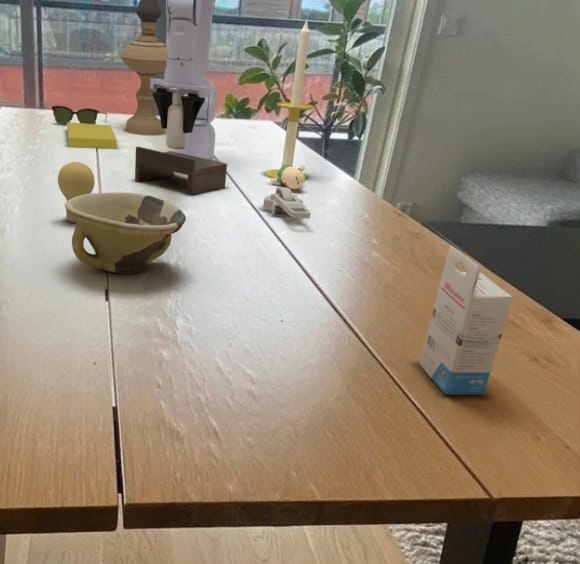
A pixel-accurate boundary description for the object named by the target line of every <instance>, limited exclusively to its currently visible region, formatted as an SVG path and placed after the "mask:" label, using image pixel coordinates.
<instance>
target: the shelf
mask: <svg viewBox="0 0 580 564" xmlns="http://www.w3.org/2000/svg"><path fill="white" fill-rule="evenodd" d="M134 163H135V164H134V165H135V167H134V181H135V182H138V183H139V182H145V181H150V180H154V179H161V178H166V177H170V176H174V175H175V173H178V174H181V175H186V176H187V183H186V195H189V196H194V195H199V194H203V193H208V192H212V191H217V190H221V189H225V188H226V182H227V181H226V179H227V169H228V163H226V162H222V161H217V160H216V161H213V160H208V159H204V158H199V157H195V156H191V155H186V154H182V153H177V151H173V150H171V151H170V150H169V151H160V150H157V149H156V150H155V149H151V148H147V147H142V146H135V162H134Z"/></svg>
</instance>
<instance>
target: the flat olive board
mask: <svg viewBox="0 0 580 564" xmlns="http://www.w3.org/2000/svg"><path fill="white" fill-rule="evenodd" d="M66 132H67V140H68V147H69V148H87V149H92V148H93V149H110V150H111V149H117V137H116V135H115V132H114V131H113V128H112V125H111V124H109V125H108V124H98V123H97V124H96V123H95V124H84V123H80V122H71V121H70V122H67V125H66Z"/></svg>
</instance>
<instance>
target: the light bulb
mask: <svg viewBox="0 0 580 564" xmlns="http://www.w3.org/2000/svg"><path fill="white" fill-rule="evenodd" d="M95 183H96V182H95V175H94V172H93V171H92V169H91V167H90V166H89V165H88V164H85V163H84V162H83V163H82V162H79V161H72V162H68V163H66V164H64V165H63V166H61V168H60V170H59V172H58V175H57V184H58V188H59V190H60V192H61V193H62V195H63V196H64V198H65V199H66V202H67V201H68V200H70V199H72V198H74V197H77V196H80V195H84V194H90V193H93V190H94V188H95ZM65 218H66V219H67V220H68V221H69V222H71V223H76V221H75V220H74V219H71V218H70V217H68V215H67V210H66V209H65Z"/></svg>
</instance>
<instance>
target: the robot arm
mask: <svg viewBox="0 0 580 564" xmlns="http://www.w3.org/2000/svg"><path fill="white" fill-rule="evenodd" d="M216 1H217V0H166V1H165V18H166V27H165V28H166V32H167V46H166V48H167V65H166V69H165V79H164V78H163V79H162V78H153V79H150V89H153V90H156V91H154V92H153V98H154V100H155V101H154V103H155V104H156V108H157V110H158V115H159V120H160V121H161V126H162V128H163V130H165V129H166V130H167V116H168V108H169V106H171V105H172V104H174V103H172V101H173V100H172V99H173V93H174V92H175V91H176V90H177V89H181V91H180V93H181V94H184V96H181V100H182V105H183V115H184V118H183V132H184V133H186V143H185V149H176V152H177V153H182V154H186V155H191V156H195V157H199V158H204V159H208V160H213V161H217V159H214V157H215V145H216V130H215V128H214V125H212V124H211V123H213V122H214V120H215V117H216V111H217V110H216V109H217V90H216V86H215V85H214V83H212V82H211V81H210V80H209V79H208V78H207V75H208V74H207V73H208V66H209V65H208V63H209V55H210V45H211V35H212V25H213V15H214V8H215V4H216Z"/></svg>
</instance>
